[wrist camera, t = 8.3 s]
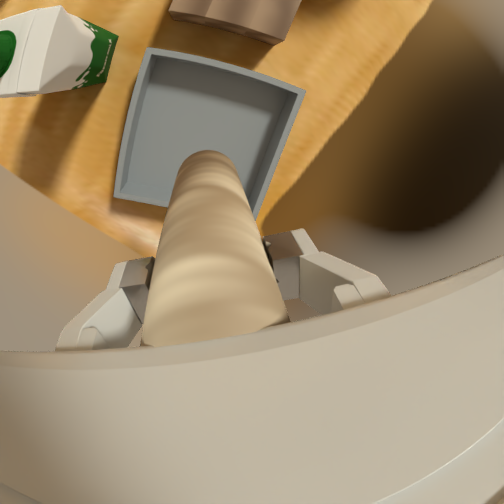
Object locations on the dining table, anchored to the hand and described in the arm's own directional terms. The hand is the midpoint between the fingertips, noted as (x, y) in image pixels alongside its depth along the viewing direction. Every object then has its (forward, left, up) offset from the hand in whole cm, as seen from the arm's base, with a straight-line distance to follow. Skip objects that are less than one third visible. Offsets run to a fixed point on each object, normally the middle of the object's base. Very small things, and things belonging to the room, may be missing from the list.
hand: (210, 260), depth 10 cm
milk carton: (-19, +8, -30) cm, 36 cm away
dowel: (0, 0, -9) cm, 9 cm away
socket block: (-2, +22, -30) cm, 37 cm away
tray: (0, 0, -30) cm, 30 cm away
